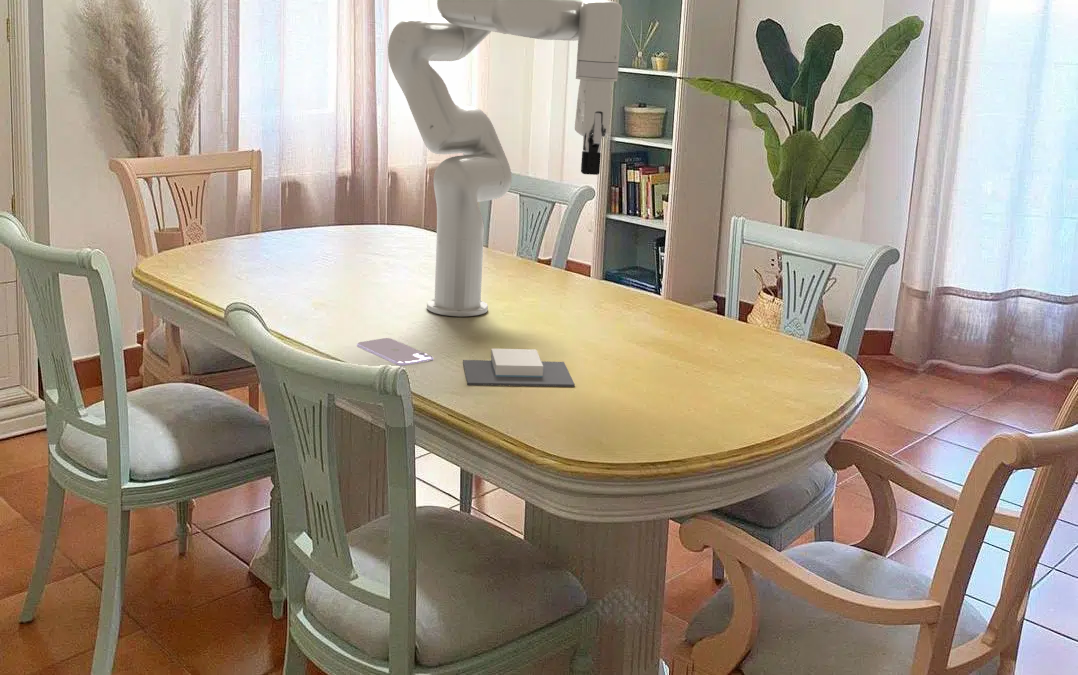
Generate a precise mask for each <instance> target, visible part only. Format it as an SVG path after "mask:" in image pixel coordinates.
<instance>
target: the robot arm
mask: <svg viewBox="0 0 1078 675" xmlns="http://www.w3.org/2000/svg"><path fill="white" fill-rule="evenodd" d="M436 1H437V2H436V5H437V10H438V12H439V14H440V15H441V17H431V16H430V17H428V16H425V17H424V16H417V17H409V18H406V19H403V20H401V21H400V22H398V23H397V24H396V25H395V26H394V27H393V29H392V30H391V33H390V35H389V39H388V43H387V44H388V45H387V56H388V63H389V67H390V68H391V71H392V72H391V73H392V74H393V75H394V78H395V80H396V81H397V84H398V86H399V87H400V89H401V90H402V93H403V95H404V96H405V100H406V102H407V104H408V107H409V109H410V112H411V114H412V117H413V119H414V122H415V124H416V126H417V130H418V131H419V134H420V136H421V138H422V140H423V142H424V145H425V147H426V149H427V150H428V151H429V152H431V153H433V154H436V155H455V156H451V157H448V158H446V159H444V160H442V161H441V162H440V163H439V164H438V166H436V169H435V171H434V174H433V180H432V181H433V183H432V184H433V190H434V196H435V202H436V244H435V246H436V247H435V251H436V253H435V278H434V280H435V281H434V298H432V299H430V300H428V301H427V302H426V309H427V310H428V312H431V313H434V314H437V315H442V316H447V317H474V316H479V315H480V316H481V315H483V314H485V313H487V312H488V310H489V309H488V308H489V305H488V303H486V302H485V301H483V300H482V299H481V298H482V277H483V257H484V254H483V253H484V237H485V236H484V234H485V232H484V231H485V230H484V229H485V227H484V225H485V224H484V219H483V215H482V213H481V209H480V208H479V204H478V203H480V202H485V201H486V202H487V201H493V200H494V201H495V200H497V199H500V198H502V197H504V196H506V194H507V193H508V192H509V191H510V188H511V186H512V181H513V177H512V169H511V166H510V164H509V160H508V158H507V156H506V154H505V151H504V149H503V146H502V144H501V141H500V139H499V136H498V134H497V133H496V129H495V127H494V125H493V123H492V121H491V119H490V117H488V115H487V114H486V112H484V111H483V110H482V109H480V108H478V107H475V106H471V105H456V103H455V102H454V101H453V98H452V97H451V94H450V93H449V90H448V87H447V85H446V83H445V81H444V79H443V78H442V77H441V75H439V73H438V72H437V71H436V70H435V69H434V68H433V67H432V65H431V64H430V63H429V62H453V61H459V60H461V59H463V58H465V57H466V56H468V55H469V54H470V53H471V52H472V51H473V50H475V48H476V47H477V46H478V45H479V44H481V43H482V41H483V40H484V39H486V37H488V36H489V35H490V34H491V33H492V32H495V33H500V34H503V35H511V36H517V37H523V38H529V39H534V40H535V39H537V40H544V41H549V40H550V41H552V40H553V41H573V42H574V41H577V55H576V66H575V67H576V69H575V70H576V71H575V79H576V80H579V85H578V93H577V100H576V110H575V111H576V112H575V121H574V131H575V132H576V133H578V135H580V136H582V137H583V140H582V152H581V164H580V173H581V174H583V175H590V176H591V175H596V176H598V175H599V174H600V169H601V157H602V153H601V151H602V142H603V141H602V139H603V138H605V137H607V136H608V134H609V128H610V119H611V118H610V117H611V105H612V104H611V103H612V102H611V101H612V82H618V77H619V76H618V75H619V65H620V64H619V61H620V48H621V47H620V46H621V34H622V20H623V7H622V5H621V4H620V3H619V2H617V1H611V0H436ZM457 154H462V155H457Z"/></svg>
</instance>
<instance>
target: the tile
mask: <svg viewBox="0 0 1078 675" xmlns="http://www.w3.org/2000/svg"><path fill="white" fill-rule="evenodd" d="M490 353H491V354H490V360H491V361H492V365H493V369H494V372H495V376H496V377H543V364H542V362H541V361H542V359H541V358H540V356H539V352H538V350H537V349H535V348H534V349H529V348H528V349H526V348H525V349H523V348H521V349H520V348H491V350H490Z"/></svg>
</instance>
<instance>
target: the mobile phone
mask: <svg viewBox="0 0 1078 675" xmlns="http://www.w3.org/2000/svg"><path fill="white" fill-rule="evenodd" d="M356 346H357V347H358V348H360V349H362V350H364V351H367V352H369V353H370V354H373V355H376V356H378V357H379V358H382V359H383V360H385V361H388V362H390V363H392V364H395V365H398V366H410V365H415V364H414V363H416V364H420V363H419V362H422V363H424V362H423V361H427V360H428V361H427V362H430V361H429V360H432V361H434V357H433V356H432V355H430V354H428V353H426V352H424V351H420V350H418V349H416V348H414V347H412V346H410V345H408V344H404V343H402V342H400V341H398V340H396V339H393V338H391V337H384V338H377V339H372V340H366V341H365V340H364V341H359V342H357V343H356Z"/></svg>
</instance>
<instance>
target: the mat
mask: <svg viewBox="0 0 1078 675" xmlns="http://www.w3.org/2000/svg"><path fill="white" fill-rule="evenodd" d="M541 362H542V364H543V377H496V376H495V372H494V369H493V365H492V361H491V359H490V360H487V359H486V360H485V359H484V360H483V359H463V360H462V364H463V369H464V375H465V379H466V384H467V386H498V385H501V386H503V385H504V386H505V387H507V386H509V385H510V387H511V386H512V387H514V386H516V387H517V386H518V387H557V388H558V387H565V388H566V387H567V388H569V387H571V388H572V387H573V388H574V387H575V382H574V380H573V378H572V376H571V374H570V372H569V370H568V368H567V365H566V364H565V361H545V360H544V361H543V360H541Z"/></svg>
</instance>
